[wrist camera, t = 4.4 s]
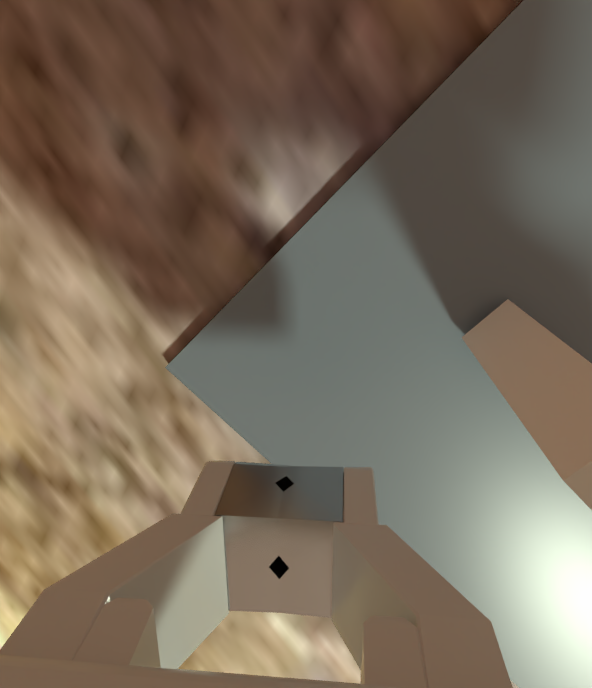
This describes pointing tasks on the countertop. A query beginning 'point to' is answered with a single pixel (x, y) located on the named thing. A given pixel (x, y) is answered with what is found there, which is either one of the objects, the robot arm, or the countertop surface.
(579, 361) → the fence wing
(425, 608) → the robot arm
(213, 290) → the countertop surface
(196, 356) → the card
